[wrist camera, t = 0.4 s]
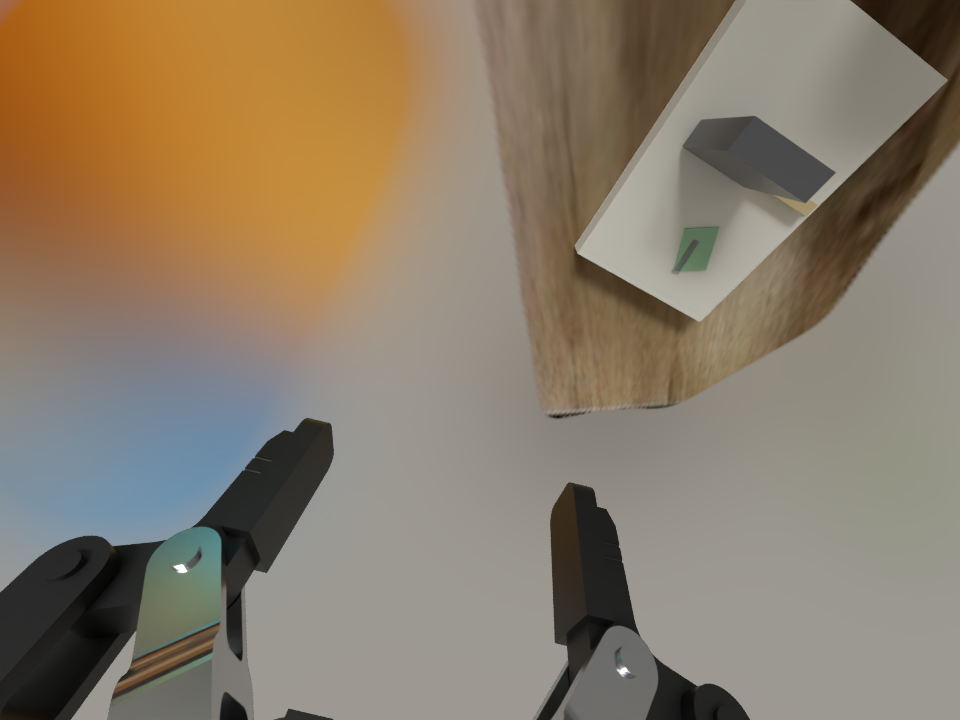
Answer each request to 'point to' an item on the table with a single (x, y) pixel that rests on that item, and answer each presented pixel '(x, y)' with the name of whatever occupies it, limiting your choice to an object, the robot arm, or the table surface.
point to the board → (779, 103)
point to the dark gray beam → (760, 159)
